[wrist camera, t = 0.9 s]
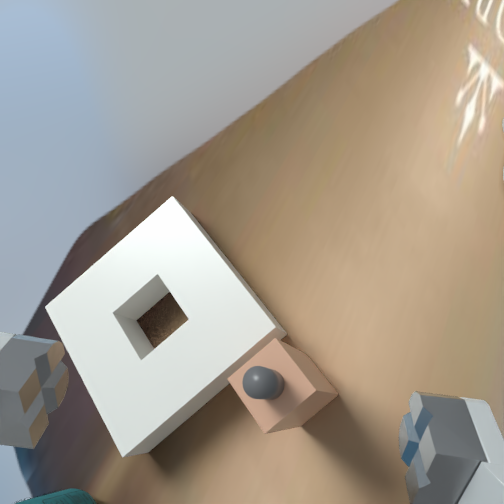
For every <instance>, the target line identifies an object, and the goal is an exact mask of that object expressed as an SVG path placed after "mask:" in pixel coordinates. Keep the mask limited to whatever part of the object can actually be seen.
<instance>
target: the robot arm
mask: <svg viewBox="0 0 504 504" xmlns="http://www.w3.org/2000/svg"><path fill="white" fill-rule="evenodd" d="M502 126H503V131H504V118H503V121H502ZM503 179H504V168H503ZM64 354H65V352H64V348H63V344H62V343H61V342H59V341H55V340H49V339H43V338H37V337H31V336H25V335H16V334H10V333H4V332H0V445H8V446H15V447H23V448H32V449H34V447H35V445H36V444H37V442H38V440H39V439H40V437H41V435H42V434H43V432H44V430H45V429H46V427H47V425H48V424H49V423H48V418H47V414H48V413H50V412H52V411H53V410H55V409H56V408H58V407H59V405H60V403H61V401H62V400H63V398H64V395H65V392H66V389H67V386H68V369H67V367H66V366H65V365H64V364H63V363H62V361H61V359H62V357H63V355H64ZM409 406H410V411H411V412H409V413H407V414H406V415H404V416H403V419H402V422H401V425H400V431H399V449H400V454H401V459H402V460H403V461H404V462H405V463H406V465H407V466H408V467H409V469H408V471H407V473H406V476H405V480H406V485H407V490H408V495H409V500H410V504H504V439H503V436H502V434H501V432H500V430H499V427H498V425H497V423H496V421H495V418H494V416H493V414H492V411H491V409H490V407H489V405H488V403H487V402H486V401H485V400H479V399H471V398H463V397H456V396H448V395H441V394H433V393H426V392H418V391H415V392H414V393H413V394H412V396H411V398H410V400H409Z"/></svg>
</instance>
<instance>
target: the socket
mask: <svg viewBox="0 0 504 504" xmlns="http://www.w3.org/2000/svg"><path fill="white" fill-rule="evenodd" d="M169 292H170V293H171V294H172V295H173V297H174V298H175V300H176V301H177V303H178V304H179V306H180V307H181V309H182V310H183V311H184V313H185V314H186V316H187V317H188V319H189V320H188V321H186V322H185V323H184V324H183V325H182V326H181V327H180V328H178V329H177V330H176V331H175V332H174V333H173V334H171V335H170V336H169V337H168V338H167V339H166V340H164V341H163V342H162V343H161V344H160V345H159V346H157V347H156V348H155V349H154V348H153V346H152V345H151V343H150V341H149V340H148V338H147V337H146V335H145V333H144V332H143V330H142V329H141V327H140V325H139V324H138V322H137V321H136V320H138V319H139V318H140V317H141V316H142V315H143V314H144V313H146V312H147V311H148V310H149V309H150V308H151V307H153V306H154V305H155V304H156V303H157V302H158V301H160V300H161V299H162V298H163V297H164V296H165V295H166V294H168V293H169ZM45 308H46V310H47V312H48V314H49V316H50V318H51V320H52V322H53V323H54V325H55V327H56V329H57V331H58V333H59V335H60V337H61V339H62V341H63V343H64V345H65V347H66V349H67V351H68V353H69V354H70V356H71V358H72V360H73V362H74V364H75V366H76V368H77V370H78V372H79V374H80V376H81V378H82V380H83V382H84V384H85V386H86V387H87V389H88V391H89V393H90V395H91V397H92V399H93V401H94V403H95V405H96V407H97V409H98V411H99V413H100V415H101V417H102V418H103V420H104V422H105V424H106V426H107V428H108V430H109V432H110V434H111V436H112V438H113V440H114V442H115V444H116V446H117V448H118V450H119V451H120V453H121V455H122V457H128V456H133V455H138V454H144V453H148V452H150V451H151V450H152V449H153V448H154V447H155V446H157V445H158V444H159V443H160V442H161V441H162V440H164V439H165V438H166V437H167V436H168V435H169V434H171V433H172V432H173V431H174V430H175V429H177V428H178V427H179V426H180V425H181V424H182V423H184V422H185V421H186V420H187V419H188V418H189V417H191V416H192V415H193V414H194V413H195V412H197V411H198V410H199V409H200V408H201V407H202V406H204V405H205V404H206V403H207V402H208V401H209V400H211V399H212V398H213V397H214V396H215V395H217V394H218V393H219V392H220V391H221V390H222V389H224V388H225V387H226V386H227V385H228V384H229V383H230V382H229V381H228V379H227V378H229V377H230V376H231V375H232V374H233V373H234V372H236V371H237V370H238V369H239V368H240V367H242V366H243V365H244V364H245V363H246V362H247V361H249V360H250V359H251V358H252V357H253V356H254V355H256V354H257V353H258V352H259V351H260V350H261V349H263V348H264V347H265V346H266V345H267V344H269V343H270V342H271V341H272V340H273V339H274V338H277V339H279V340H281V339H282V338H284V337H285V336H286V335H287V333H286V332H285V330H284V329H283V328H282V327H281V325H280V324H279V323H278V322H277V320H276V319H275V318H274V317H273V315H272V314H271V313H270V312H269V310H268V309H267V308H266V307H265V305H264V304H263V303H262V301H261V300H260V299H259V298H258V296H257V295H256V294H255V293H254V291H253V290H252V289H251V288H250V286H249V285H248V284H247V283H246V281H245V280H244V279H243V278H242V276H241V275H240V274H239V273H238V271H237V270H236V269H235V268H234V266H233V265H232V264H231V263H230V261H229V260H228V259H227V257H226V256H225V255H224V254H223V252H222V251H221V250H220V249H219V247H218V246H217V245H216V244H215V242H214V241H213V240H212V239H211V237H210V236H209V235H208V234H207V232H206V231H205V230H204V229H203V227H202V226H201V225H200V224H199V222H198V221H197V220H196V219H195V217H194V216H193V215H192V213H191V212H190V211H189V210H187V209H186V208H185V207H184V206H183V205H182V204H181V203H180V202H179V201H178V200H177V199H175V198H174V197H173V196H172V197H171V198H170V199H168V200H167V201H166V202H165V203H164V204H163V205H161V206H160V207H159V208H158V209H157V210H156V211H155V212H153V213H152V214H151V215H150V216H149V217H148V218H147V219H145V220H144V221H143V222H142V223H141V224H140V225H139V226H137V227H136V228H135V229H134V230H133V231H132V232H131V233H129V234H128V235H127V236H126V237H125V238H124V239H122V240H121V241H120V242H119V243H118V244H117V245H116V246H114V247H113V248H112V249H111V250H110V251H109V252H108V253H106V254H105V255H104V256H103V257H102V258H101V259H100V260H98V261H97V262H96V263H95V264H94V265H93V266H91V267H90V268H89V269H88V270H87V271H86V272H85V273H83V274H82V275H81V276H80V277H79V278H78V279H77V280H75V281H74V282H73V283H72V284H71V285H70V286H69V287H67V288H66V289H65V290H64V291H63V292H62V293H60V294H59V295H58V296H57V297H56V298H55V299H54V300H52V301H51V302H50V303H49V304H48V305H47V306H46V307H45Z"/></svg>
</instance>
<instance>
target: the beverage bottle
mask: <svg viewBox="0 0 504 504" xmlns="http://www.w3.org/2000/svg"><path fill="white" fill-rule="evenodd" d="M44 494H45V493H44ZM40 495H41V494H40ZM16 504H96V502H95V501H94V499H93V498H92V497H91V496H90V495H89V494H88V493H87V492H85V491H83V490H79V489H67V490H63V491H59V492H55V493H51V494H45V495H44V496H43V495H42V496H40V497H38V496H36V498H35V497H34V498H33V499H31V498H30V499H29V500H25V501H22V502H19V503H16Z"/></svg>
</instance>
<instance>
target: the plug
mask: <svg viewBox="0 0 504 504" xmlns="http://www.w3.org/2000/svg"><path fill="white" fill-rule="evenodd" d="M227 379H228V381H229V382H230V384H231V385H232V387H233V388H234V390H235V391H236V393H237V394H238V395H239V397H240V398H241V400H242V401H243V403H244V404H245V406H246V407H247V409H248V410H249V412H250V413H251V414H252V416H253V417H254V419H255V420H256V422H257V423H258V425H259V426H260V428H261V429H262V431H263V432H264V433H265V434H266V433H271V432H276V431H281V430H286V429H291V428H295V427H300V426H302V425H303V424H304V423H306V422H307V421H308V420H309V419H310V418H312V417H313V416H314V415H315V414H316V413H317V412H319V411H320V410H321V409H322V408H323V407H325V406H326V405H327V404H328V403H329V402H331V401H332V400H333V399H334V398H335V397H336V396H338V395H339V394H338V393H337V391H336V390H335V389H334V388H333V386H332V385H331V384H330V383H329V381H328V380H327V379H326V378H325V376H324V375H323V374H322V373H321V371H320V370H319V369H318V368H317V366H316V365H315V364H314V363H313V361H312V360H311V359H310V358H309V356H308V355H307V354H305V353H303V352H301V351H299V350H297V349H295V348H294V347H292V346H290V345H288V344H286V343H284V342H282V341H281V340H279V339H277V338H274V339H273V340H272V341H271V342H270V343H269V344H267V345H266V346H265V347H264V348H263V349H261V350H260V351H259V352H258V353H257V354H256V355H254V356H253V357H252V358H251V359H250V360H249V361H247V362H246V363H245V364H244V365H243V366H242V367H240V368H239V369H238V370H237V371H236V372H234V373H233V374H232V375H231V376H230V377H229V378H227Z"/></svg>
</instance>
